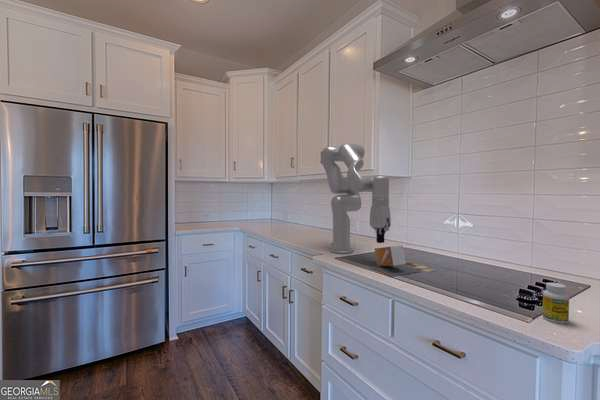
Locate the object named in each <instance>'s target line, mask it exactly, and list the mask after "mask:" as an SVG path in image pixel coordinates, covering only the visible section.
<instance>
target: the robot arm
mask: <svg viewBox="0 0 600 400" xmlns="http://www.w3.org/2000/svg"><path fill="white" fill-rule="evenodd" d="M365 154H366V153H365V148H364V147H363V146H362V145H361V144H358V143H343V144H341V145H340V146H338V145H336V146H335V145H331V146H330V145H329V146H326V147H324V148H323V149H322V151H321V155H320V158H321V164H322V167H323V169H324V171H325V174H326V178H327V182H328V186H329V189H330V192H331V193H332V194H335V196H333V197H332V198H331V200H330V207H331V211H332V212H331V213H332V242H331V245H332V247H331V248H329V251H330V252H331V253H333V254H340V255H341V254H343V255H345V254H350V253H353V252H354V249H353V248H352V247H351V218H350V216H349V215H348V213H349V212H358V211H360V210H361V207H362V198H361V194H360V193H371V206H370V211H369V226H370V227H372V229H373V230H374V232H375V234H376V243H378V244H382V243H385V234H386V232H390V228H391V223H392V221H391V220H392V219H391V209H390V179H389V176H387V175H376V176H374V175H372V176H369V175H360V174H359V173H358V171H360V170H362V168H363V167H364V159H363V158H364V157H365ZM337 162H343V163H344V164H345V166H346V167H347V171H346V177H345V176H343V173H342V170H341V167H340V166H339V165H338V164H337Z"/></svg>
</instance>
